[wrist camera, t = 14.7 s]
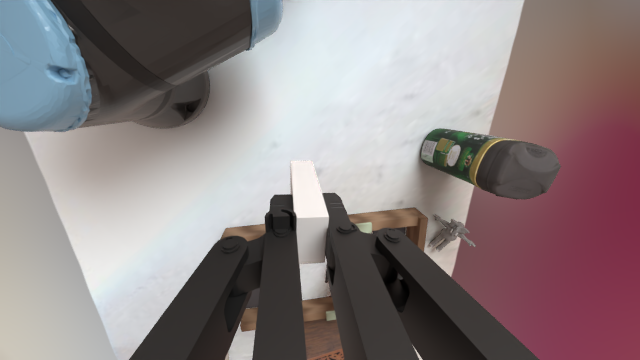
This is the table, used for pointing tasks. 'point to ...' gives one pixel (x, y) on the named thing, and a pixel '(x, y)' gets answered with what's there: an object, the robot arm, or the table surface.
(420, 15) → the table surface
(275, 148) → the table surface
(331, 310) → the lane box
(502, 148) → the coffee jar
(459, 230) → the grey toy figurine
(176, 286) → the table surface
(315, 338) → the tissue box cover
